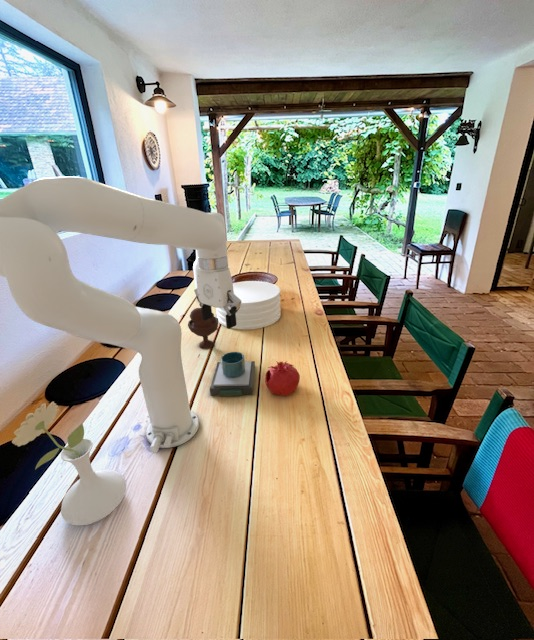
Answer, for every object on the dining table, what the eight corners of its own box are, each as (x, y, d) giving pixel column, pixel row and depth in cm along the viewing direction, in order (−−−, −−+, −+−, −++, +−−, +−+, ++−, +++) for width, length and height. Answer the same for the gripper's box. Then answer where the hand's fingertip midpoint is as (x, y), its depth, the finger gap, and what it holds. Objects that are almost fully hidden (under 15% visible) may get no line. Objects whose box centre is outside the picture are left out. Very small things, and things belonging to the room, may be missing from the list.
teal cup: (244, 378, 93) (243, 363, 91) (221, 378, 94) (219, 364, 92) (246, 365, 100) (245, 351, 97) (224, 365, 100) (222, 351, 98)
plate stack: (206, 326, 133) (203, 301, 128) (229, 302, 158) (227, 279, 153) (272, 332, 127) (271, 305, 122) (285, 305, 151) (285, 282, 147)
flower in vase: (111, 467, 70) (78, 370, 60) (139, 496, 63) (108, 393, 53) (44, 513, 61) (-8, 408, 51) (69, 553, 54) (15, 442, 44)
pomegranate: (305, 384, 95) (305, 357, 91) (289, 403, 87) (289, 374, 83) (275, 375, 100) (275, 349, 96) (258, 393, 92) (257, 365, 88)
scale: (252, 396, 90) (251, 387, 89) (210, 397, 91) (208, 388, 89) (255, 367, 104) (254, 359, 103) (218, 368, 104) (217, 360, 103)
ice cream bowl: (215, 353, 113) (210, 314, 107) (186, 351, 115) (180, 312, 109) (225, 339, 123) (221, 302, 116) (197, 337, 125) (192, 301, 119)
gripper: (180, 261, 86) (189, 320, 93) (226, 270, 76) (231, 335, 83) (202, 256, 91) (208, 312, 98) (247, 264, 81) (251, 325, 88)
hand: (219, 322), depth 91 cm, fingers open, 9 cm apart
